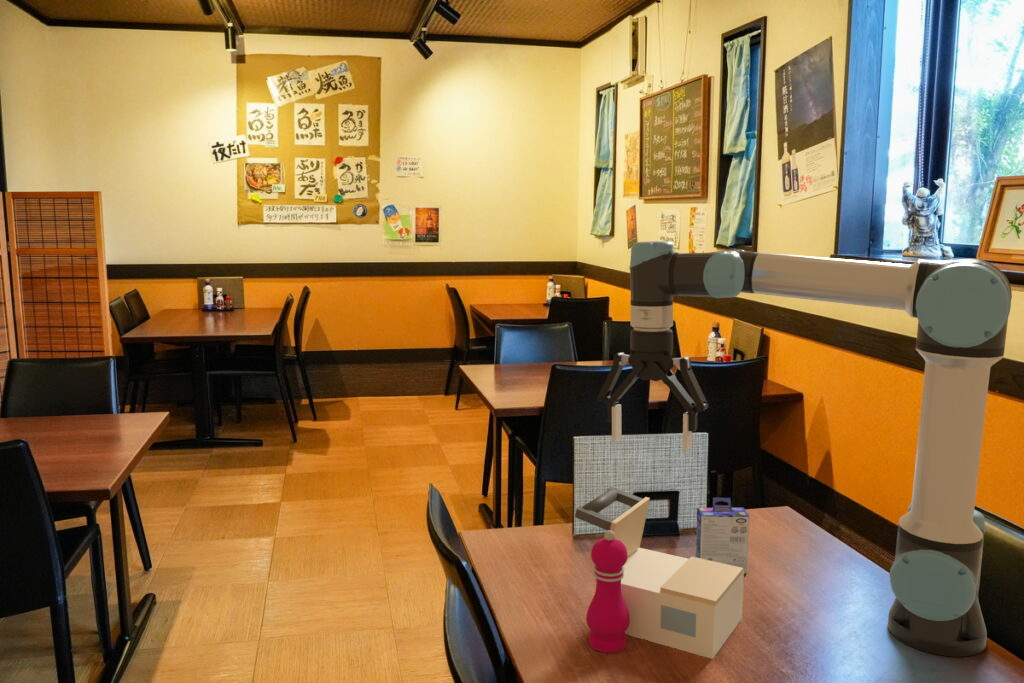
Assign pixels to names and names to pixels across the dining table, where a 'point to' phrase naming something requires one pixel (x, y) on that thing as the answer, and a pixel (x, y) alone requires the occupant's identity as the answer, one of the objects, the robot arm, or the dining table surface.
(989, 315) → the robot arm
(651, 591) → the carton
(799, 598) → the dining table surface
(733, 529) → the ink cartridge box
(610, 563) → the pepper mill
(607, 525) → the flap
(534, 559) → the dining table surface
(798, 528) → the dining table surface
